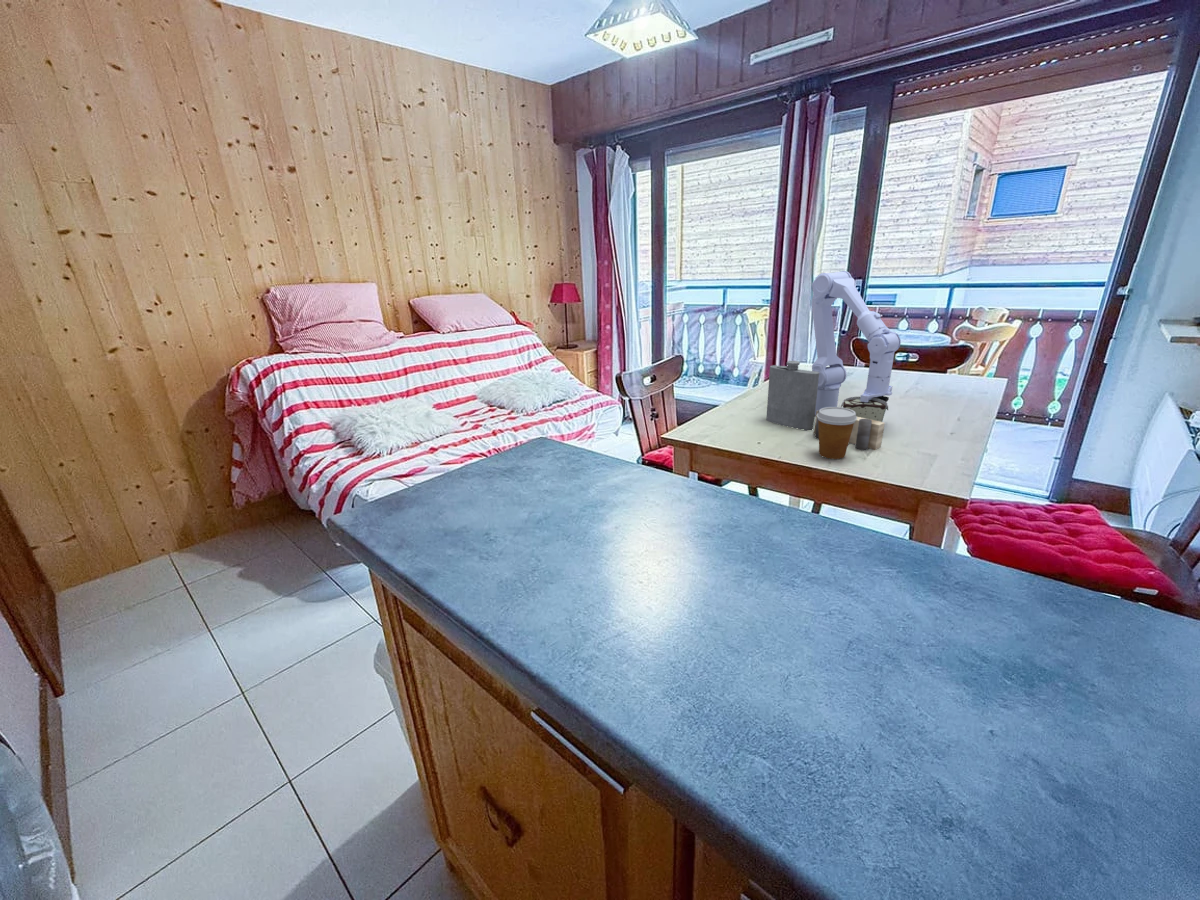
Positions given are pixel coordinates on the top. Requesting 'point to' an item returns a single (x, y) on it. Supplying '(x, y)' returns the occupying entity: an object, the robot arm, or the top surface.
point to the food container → (866, 408)
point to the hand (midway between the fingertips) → (872, 420)
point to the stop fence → (862, 433)
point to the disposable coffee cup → (835, 431)
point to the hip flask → (792, 396)
